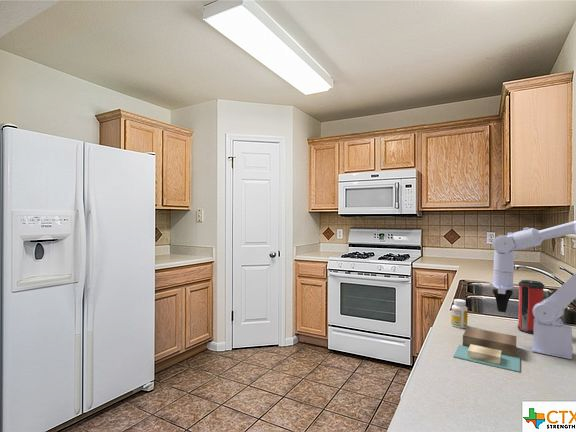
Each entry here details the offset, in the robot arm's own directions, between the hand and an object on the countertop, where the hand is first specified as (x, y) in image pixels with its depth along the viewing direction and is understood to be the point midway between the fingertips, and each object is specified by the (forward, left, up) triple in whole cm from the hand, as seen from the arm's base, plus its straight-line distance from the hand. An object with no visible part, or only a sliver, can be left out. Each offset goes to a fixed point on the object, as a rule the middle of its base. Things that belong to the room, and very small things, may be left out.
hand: (501, 311), depth 115 cm
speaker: (-8, -17, -10) cm, 21 cm away
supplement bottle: (+14, -7, -10) cm, 18 cm away
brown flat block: (+3, +10, -9) cm, 14 cm away
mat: (+3, +21, -9) cm, 23 cm away
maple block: (+3, +22, -7) cm, 23 cm away
